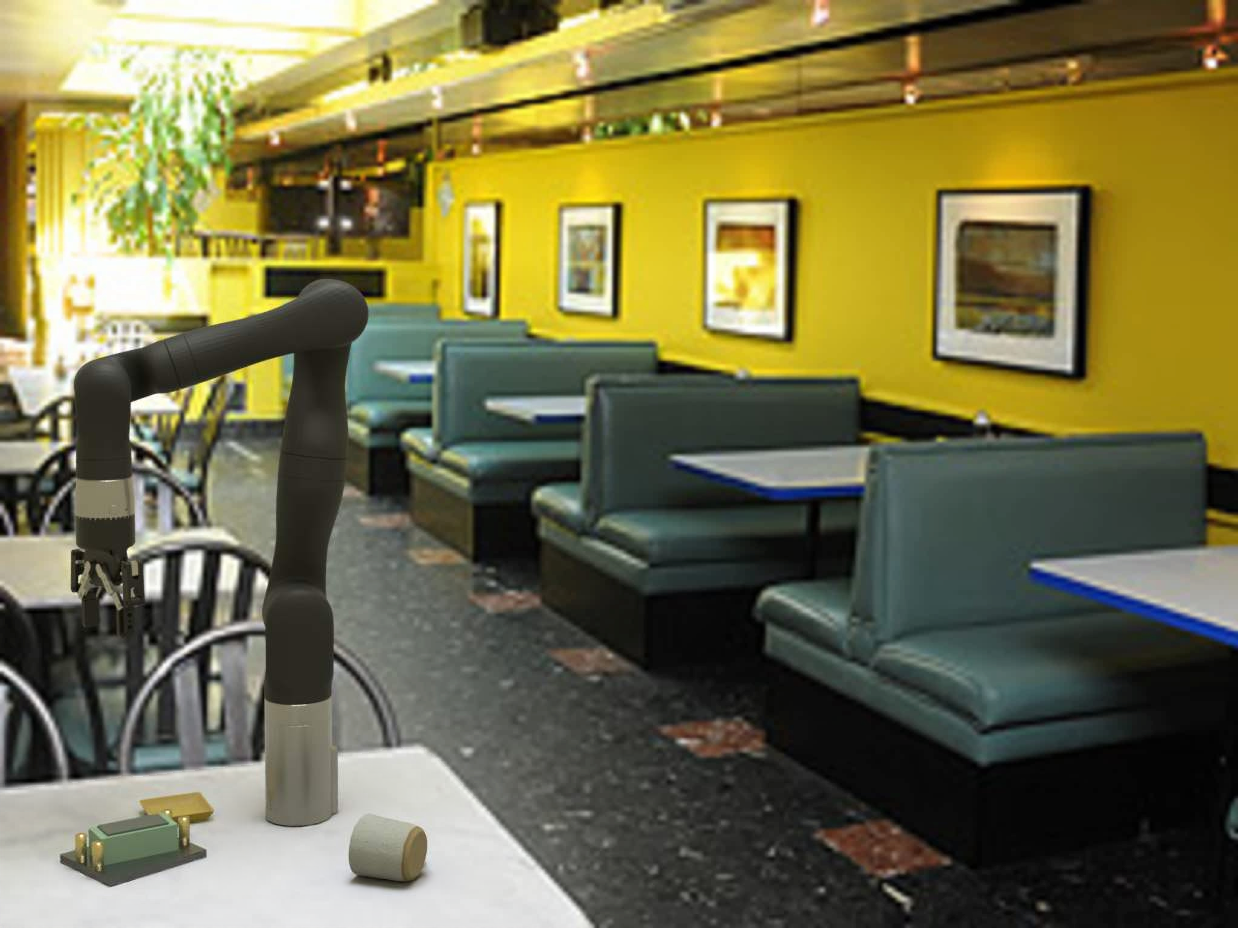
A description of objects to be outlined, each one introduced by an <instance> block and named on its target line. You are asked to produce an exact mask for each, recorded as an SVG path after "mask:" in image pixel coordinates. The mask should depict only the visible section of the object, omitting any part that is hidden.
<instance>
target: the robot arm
mask: <svg viewBox="0 0 1238 928" xmlns="http://www.w3.org/2000/svg"><path fill="white" fill-rule="evenodd" d="M368 320H369V306H368V303H367V301H366V299H365V296H364V295H363V294H362V293H361V292H360V291H359V289H357V288H356V287H355V286H353V285H352V284H350V283H348V282H346V281H343V280H339V279H334V278H333V279H332V278H322V279H317V280H313V281H312V282H310V283H309V284H307V285H305V286H304V288H303V289H301V291H300V292H299V294H298V295H297V297H296V298H294V299H292V300H291V301H288V302H286V303H284V304H282V305H280V306H278V307H277V306H276V307H274V308H271V309H270V310H267V311H263V312H260V313H257V314H254V315H251V316H248V317H247V316H246V317H243V318H238V319H234V320H229V321H225V322H220V323H219V322H218V323H215V324H210V325H207V326H203V327H199V328H195V329H191V330H188V331H186V332H182V333H179V334H176V335H173V336H169V337H166V338H162V339H160V340H156V341H154V342H152V343H150V344H148V345H146V346H143V347H139V348H134V349H130V350H125V351H121V352H116V353H114V354H109V355H106V356H101V357H99V358H95V359H92V360H90V361H88V362H86V363H84V364H83V365H82V366H81V367H80V368H79V369H78V370H77V372H76V374H75V375H74V379H73V391H74V403H75V405H74V406H75V417H76V430H77V431H76V432H77V440H76V444H75V445H76V446H75V470H76V471H75V475H76V476H75V477H76V480H75V481H76V482H75V491H74V513H75V515H74V519H75V521H74V522H75V545H76V547H78V548H75V549H71V551H70V591H71V592H72V593H73V594H75V593H76V594H77V598H78V599H79V600H81V625H82V626H83V627H84V628H92V627H93V628H94V627H97V626H99V625H100V620H101V619H100V598H98V597H99V595H100V592H101V590H102V589H104V590H105V591H106V593H107V595H108V596H110V597H111V598H112V599H113V602H114V604H115V607H116V610H115V617H116V621H115V622H116V623H115V624H116V627H115V628H116V636H117V637H118V638H122V639H124V638H128V637H129V638H130V637H133V636H134V634H135V630H136V629H135V608H137V607H139V606H142V605H143V606H144V605H145V603H146V597H145V594H146V593H145V580H144V563H143V560H142V559H135V560H129V556H128V549H130V548H131V547H133V546H134V545H135V544H136V506H135V505H136V503H135V500H136V499H135V488H134V482H133V458H132V457H133V455H132V446H131V439H130V434H131V433H130V432H131V414H132V410H131V409H132V403H133V402H137V401H139V400H142V399H144V398H148V397H151V396H153V395H158V394H162V395H163V394H169V393H170V394H171V393H174V392H177V391H180V390H184V389H187V388H189V387H194V386H196V385H200V384H202V383H205V382H208V381H211V380H214V379H218V378H219V377H222V376H225V375H228V374H231V373H233V372H237V371H238V370H242V369H245V368H247V367H250V366H252V365H255V364H258V363H262V362H265V361H268V360H273V359H276V358H280V357H284V356H288V355H292V354H293V371H292V379H291V380H292V381H291V386H290V392H289V396H288V401H287V406H286V413H285V418H284V424H283V428H282V429H283V430H282V437H281V442H280V443H281V444H280V451H279V459H278V469H277V470H278V471H277V481H276V482H277V483H276V485H277V486H276V498H275V499H276V500H275V503H276V504H275V544H274V552H273V557H272V561H271V562H272V563H271V567H270V572H269V577H268V581H267V586H266V590H265V595H264V598H263V602H262V608H261V613H262V614H261V616H262V622H263V625H264V628H265V629H264V631H265V633H264V635H265V637H264V638H265V639H264V640H265V673H264V680H263V690H264V691H263V693H264V695H263V696H264V763H265V764H264V770H265V772H264V778H265V781H264V783H265V789H264V791H265V797H264V799H265V818H266V820H267V821H268V822H271V823H274V824H276V825H280V826H281V825H282V826H290V827H291V826H293V827H297V826H300V827H301V826H309V825H314V824H318V823H321V822H325V821H326V820H328V819H329V818H331V817H332V815H333V814H335V813H339V766H338V765H339V750H338V747H337V746H336V745H333V719H332V718H333V716H332V715H333V712H332V709H333V705H332V700H333V699H332V697H333V696H332V691H333V690H332V689H333V687H332V686H333V679H334V672H335V669H334V665H335V664H334V660H335V658H334V656H335V655H334V654H335V624H334V623H335V622H334V619H335V618H334V613H333V609H332V606H331V604H330V602H329V601H328V599H327V563H328V562H327V561H328V560H327V559H328V549H329V544H330V543H329V542H330V540H331V536H332V532H333V529H334V526H335V523H336V520H337V517H338V514H339V510H340V508H341V507H340V506H341V504H342V499H343V495H344V490H345V485H346V484H345V483H346V478H347V477H346V476H347V467H348V457H349V447H350V446H349V440H350V439H349V423H348V422H349V421H348V420H349V419H348V409H347V407H348V406H347V397H346V395H347V394H346V378H347V370H348V364H349V359H350V353H351V348H352V343H354V342H355V341H356V340H357V339H359V337H360V336H362V334H363V333H364V331H365V330H366V327H367V325H368V322H369V321H368ZM80 576H81V577H80ZM79 577H80V579H79ZM134 589H135V593H136V594H135V593H134ZM121 595H122V596H121Z"/></svg>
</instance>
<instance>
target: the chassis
mask: <svg viewBox="0 0 1238 928" xmlns="http://www.w3.org/2000/svg"><path fill="white" fill-rule="evenodd" d="M162 813H164V814H165V815H167V816H168V817H169V818H171V819H172V809H163V810H161V814H162ZM178 823H179V825H178V850H176V851H171V852H166V853H161V854H157V855H152V856H147V857H142V858H137V859H132V860H128V861H123V862H118V863H113V864H108V865H104V847H103V841H101V840H97V841H93V842H92V856H91V855H90V854H89V845H88V841H87V839H88V838H87V837H88V836H87V832H77V833H75V834H74V845H75V846H74V847H75V848H74V850H73V849H72V850H71V851H67V852H63V853H60V854H59V859H60V860H59V861H60V863H62V864H64V865H65V866H68V867H69V868H72V869H74V870H76V871H78V872H80V873H82V874H84V875H86V876H88V877H90V878H93V879H94V880H96V881H98V882H100V883H103V884H105V885H106V886H109V887H114V886H117V885H120V884H121V885H122V884H123V883H127V882H130V881H134V880H136V879H140V878H144V877H147V876H149V875H152V874H156V873H159V872H162V871H165V870H169V869H171V868H174V867H178V866H181V865H184V864H188V863H191V862H194V861H198V860H201V859H203V858H207V850H208V849H206V848H205V847H202V846H199V845H197V844H195V843H193V842H191V840H190V839H191V835H190V834H191V831H190V824H191V823H189V816H180V817H179V818H178ZM87 845H88V846H87Z"/></svg>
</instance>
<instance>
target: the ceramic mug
mask: <svg viewBox="0 0 1238 928" xmlns="http://www.w3.org/2000/svg"><path fill="white" fill-rule="evenodd" d="M427 852H428V837H427V834H426V831H425V830H424V828H422V827H420V826H419V825H416V824H413V823H410V822H406V821H400V820H397V819H393V818H388V817H384V816H380V815H376V814H371V813H366V814H364V815H362V816H361V817H360V818H359V820H358V821H357V823H356V824H355V825H354V828H353V830H352V834H351V837H350V839H349V846H348V865H349V867H350V868H349V869H350V870H351V872H352V873H353V875H357V876H362V877H369V878H375V879H382V880H389V881H393V882H394V881H396V882H411V881H413V880H414V879H416V878H417V877H418V876H419V874H420V873H421V872H422V870H423V867H424V865H425V861H426V858H427V855H428V853H427Z"/></svg>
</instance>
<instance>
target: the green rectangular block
mask: <svg viewBox="0 0 1238 928" xmlns="http://www.w3.org/2000/svg"><path fill="white" fill-rule="evenodd" d="M87 828H88V831H87V832H88V846H89V854H90V855H91V856H92V842H93V841H97V840H101V841H103V847H104V865H108V864H113V863H118V862H123V861H128V860H132V859H137V858H142V857H147V856H152V855H157V854H161V853H166V852H171V851H176V850H178V837H179V825H178V824H177V823H176V822H174V821H173V820H172V819H171V818H169V817H168V816H167V815H165V814H164V813H162V814H153V815H148V814H147V815H144V816H138V817H132V818H127V819H121V820H118V821H117V820H116V821H112V822H106V823H102V824H97V825H96V826H91V827H87Z"/></svg>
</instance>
